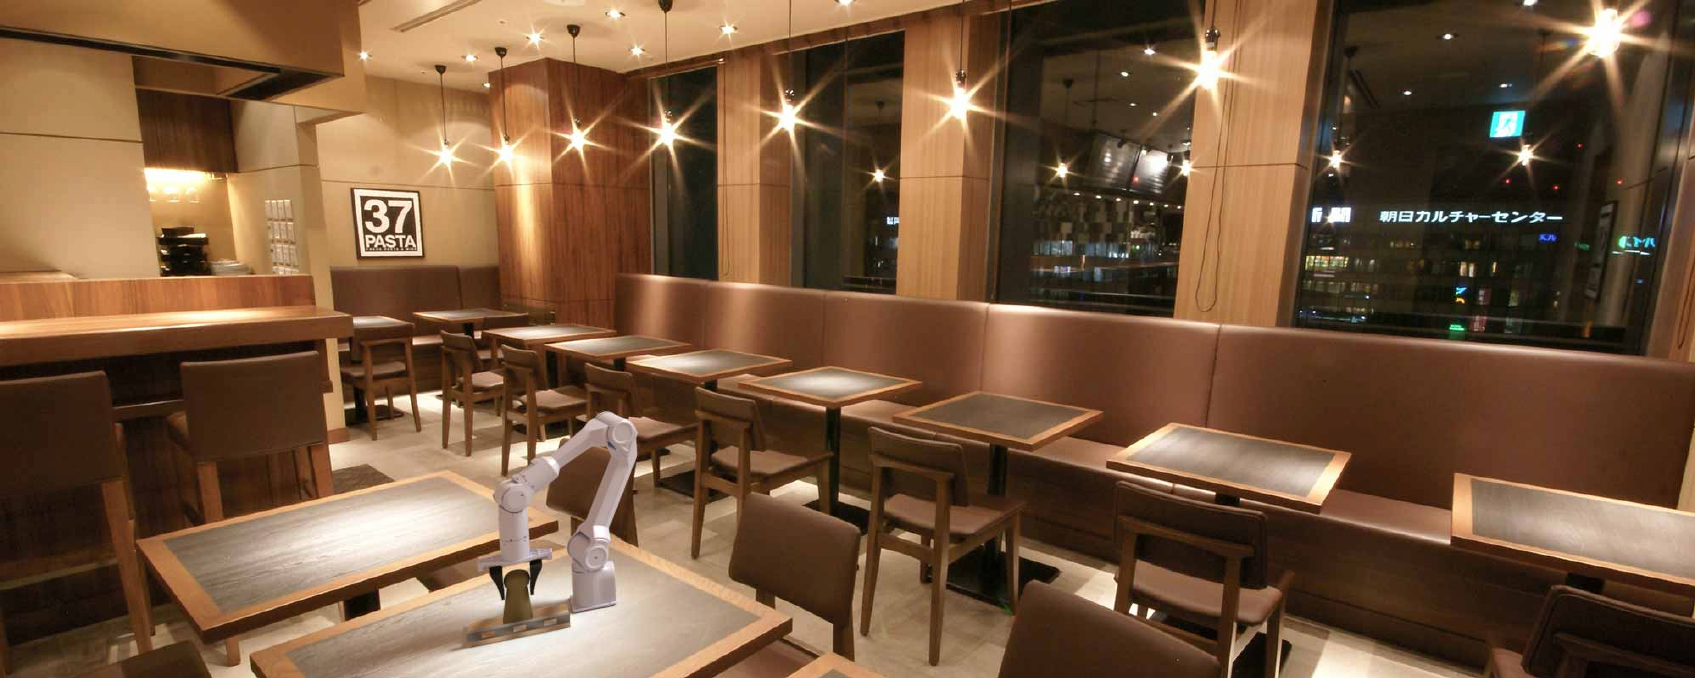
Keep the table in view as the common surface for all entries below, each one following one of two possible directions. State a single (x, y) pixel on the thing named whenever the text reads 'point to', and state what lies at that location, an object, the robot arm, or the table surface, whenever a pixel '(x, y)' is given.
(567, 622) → the shelf board
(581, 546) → the robot arm
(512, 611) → the cork
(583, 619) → the table surface
